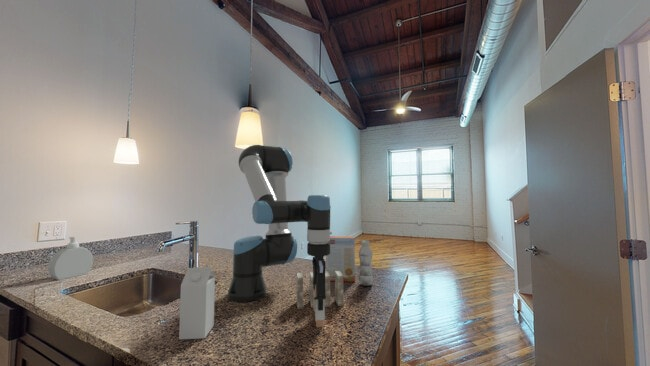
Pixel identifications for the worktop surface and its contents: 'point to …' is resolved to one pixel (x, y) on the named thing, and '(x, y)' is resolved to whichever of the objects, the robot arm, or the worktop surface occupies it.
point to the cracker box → (341, 257)
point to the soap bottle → (70, 261)
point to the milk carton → (197, 303)
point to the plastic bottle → (365, 264)
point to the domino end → (319, 322)
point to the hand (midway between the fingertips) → (318, 314)
